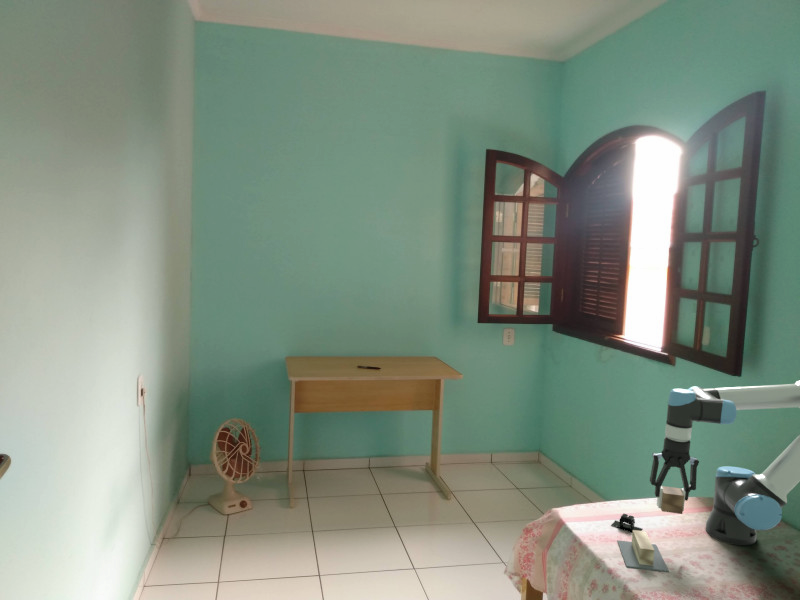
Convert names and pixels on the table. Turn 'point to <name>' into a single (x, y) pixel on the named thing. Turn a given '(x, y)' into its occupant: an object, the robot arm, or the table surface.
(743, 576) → the table surface
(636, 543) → the plinth
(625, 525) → the black plastic holder
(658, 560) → the mat
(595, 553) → the table surface
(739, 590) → the table surface
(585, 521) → the table surface
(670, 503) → the walnut cube
